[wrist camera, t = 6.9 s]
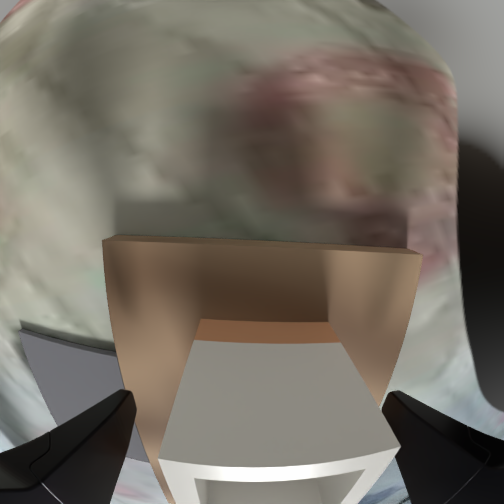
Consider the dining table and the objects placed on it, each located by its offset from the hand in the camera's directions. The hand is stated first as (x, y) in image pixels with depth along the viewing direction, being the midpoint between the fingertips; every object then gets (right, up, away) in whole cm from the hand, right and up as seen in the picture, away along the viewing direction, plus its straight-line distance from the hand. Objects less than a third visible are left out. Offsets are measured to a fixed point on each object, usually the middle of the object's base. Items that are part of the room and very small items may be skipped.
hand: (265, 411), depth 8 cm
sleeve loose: (0, 0, +2) cm, 2 cm away
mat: (-10, -4, +4) cm, 12 cm away
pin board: (0, -4, +4) cm, 6 cm away
